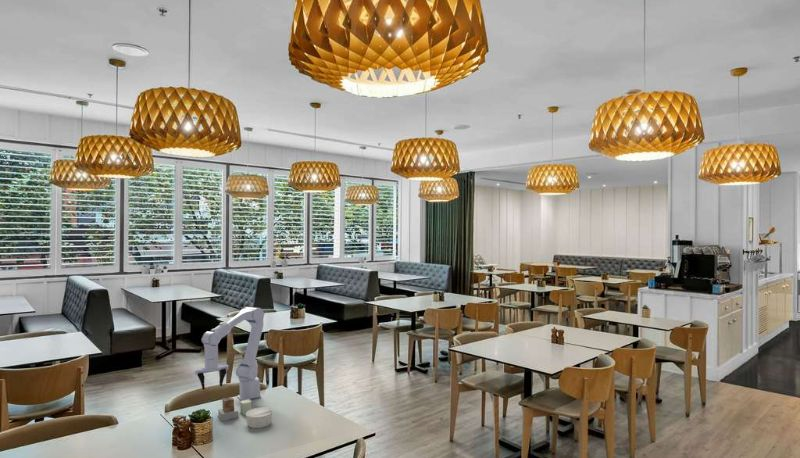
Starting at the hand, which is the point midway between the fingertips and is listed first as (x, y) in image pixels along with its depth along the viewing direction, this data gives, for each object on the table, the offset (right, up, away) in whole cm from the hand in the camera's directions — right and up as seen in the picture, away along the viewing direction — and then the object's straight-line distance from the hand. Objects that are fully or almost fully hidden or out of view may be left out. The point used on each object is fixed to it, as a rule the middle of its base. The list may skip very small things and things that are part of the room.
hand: (212, 387), depth 227 cm
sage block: (+17, -10, -4) cm, 20 cm away
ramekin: (+27, -10, -18) cm, 34 cm away
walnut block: (+11, -7, -9) cm, 16 cm away
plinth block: (+11, -10, -9) cm, 17 cm away
